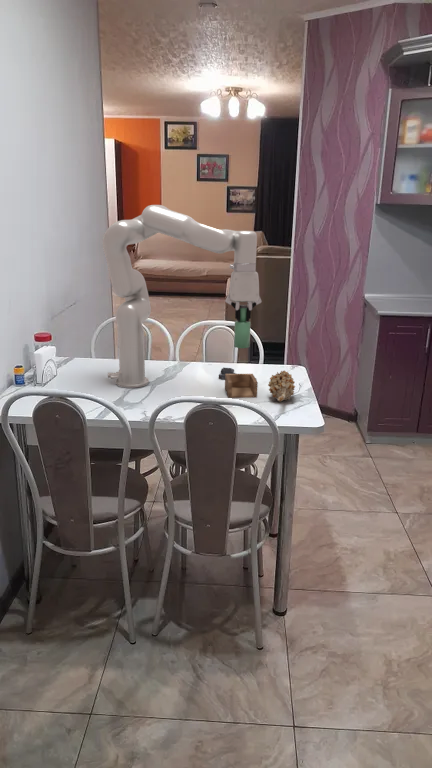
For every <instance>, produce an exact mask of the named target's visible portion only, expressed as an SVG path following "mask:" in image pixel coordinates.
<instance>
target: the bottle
mask: <svg viewBox="0 0 432 768" xmlns="http://www.w3.org/2000/svg"><path fill="white" fill-rule="evenodd" d="M247 307H248V305H247V304H239V310H240V321H239V322H238V321H237V320H234V332H233V333H234V335H233V336H234V337H233V347H234V348H237V349H248V348H250V346H251V345H250V344H251V325H252V324H251V323H252V322H251V321H250V320H249V322H247V321H246V318H247Z"/></svg>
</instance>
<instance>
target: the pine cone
mask: <svg viewBox="0 0 432 768" xmlns="http://www.w3.org/2000/svg"><path fill="white" fill-rule="evenodd" d="M269 379H270V380H269V381H268V383H267V386H268V387H269V388H268V391H269V394H271V395H272V398H274V399H277V402H282V401H288V400H291V397H292V396H293V395H294V394H295V391H294V390H295V388H296V386H295V385H294V384H295V381H294V378H293V376H292V374H291V373H290V374H289V372H288V371H286V370H281V371H280V372H278V371H277V372H276V373H275V375H274V374H271V376H270V377H269Z"/></svg>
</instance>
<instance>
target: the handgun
mask: <svg viewBox="0 0 432 768" xmlns="http://www.w3.org/2000/svg"><path fill="white" fill-rule="evenodd" d="M225 374H236V373H235V369H233V368H232V367H222V368H221V369H220V374H218V379H219V380H223V381H225ZM255 379H256V380H257V378H256V377H255Z"/></svg>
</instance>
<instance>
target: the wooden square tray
mask: <svg viewBox="0 0 432 768" xmlns="http://www.w3.org/2000/svg"><path fill="white" fill-rule="evenodd" d="M255 378H256V377H255V375H254V374H253V373H235V374H225V380H224V390H225V393H226V395H227V398H228V399H233V398H234V399H235V398H236V399H238V398H240V399H242V398H245V399H246V398H247V399H248V398H249V399H250V398H258V379H257V378H256V379H255Z"/></svg>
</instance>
